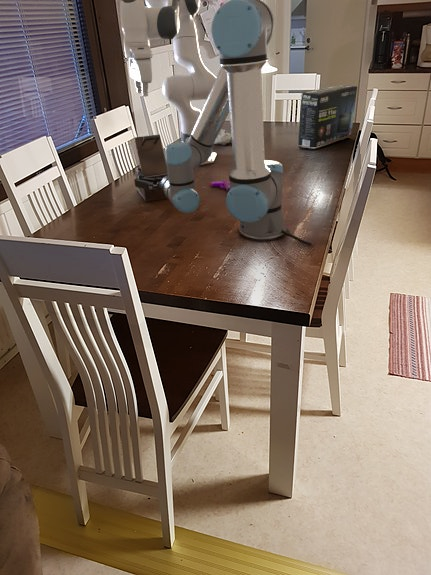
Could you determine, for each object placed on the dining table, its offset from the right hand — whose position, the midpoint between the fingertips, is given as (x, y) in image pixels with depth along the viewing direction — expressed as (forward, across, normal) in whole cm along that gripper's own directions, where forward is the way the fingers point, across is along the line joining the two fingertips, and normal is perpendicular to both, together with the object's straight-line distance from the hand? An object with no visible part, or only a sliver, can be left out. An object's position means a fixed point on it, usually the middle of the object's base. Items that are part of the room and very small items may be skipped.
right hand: (158, 172), depth 164 cm
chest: (+17, +1, -14) cm, 22 cm away
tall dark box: (+14, +1, +3) cm, 14 cm away
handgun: (+7, +28, -15) cm, 32 cm away
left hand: (+16, +2, +24) cm, 29 cm away
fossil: (+85, +55, -13) cm, 102 cm away
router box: (+55, +104, -16) cm, 119 cm away
